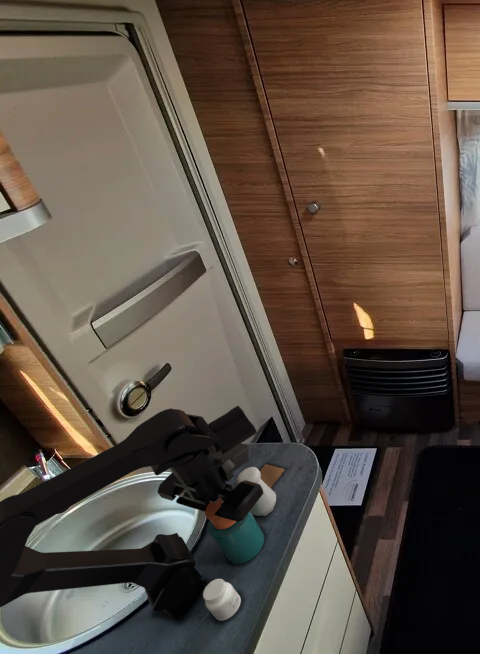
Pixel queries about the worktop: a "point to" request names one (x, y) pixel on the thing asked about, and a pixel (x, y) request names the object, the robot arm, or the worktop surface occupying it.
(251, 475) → the salt shaker
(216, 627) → the worktop surface
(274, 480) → the coaster
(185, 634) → the worktop surface
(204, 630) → the worktop surface
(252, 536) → the tin
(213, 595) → the pill bottle
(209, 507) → the brown lid
